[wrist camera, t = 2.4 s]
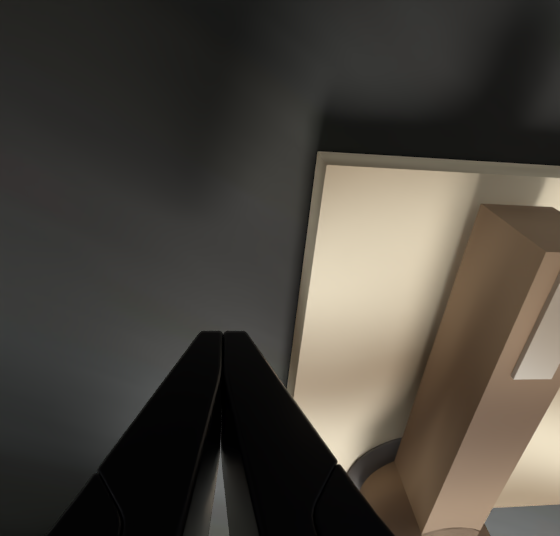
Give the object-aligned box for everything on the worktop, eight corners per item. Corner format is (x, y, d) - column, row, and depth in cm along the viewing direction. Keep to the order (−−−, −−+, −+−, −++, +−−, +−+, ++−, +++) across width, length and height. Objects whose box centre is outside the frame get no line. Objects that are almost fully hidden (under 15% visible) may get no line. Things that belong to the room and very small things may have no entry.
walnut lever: (442, 515, 15) (475, 589, 13) (351, 520, 14) (370, 598, 12) (586, 208, 9) (680, 259, 7) (443, 201, 9) (504, 253, 7)
